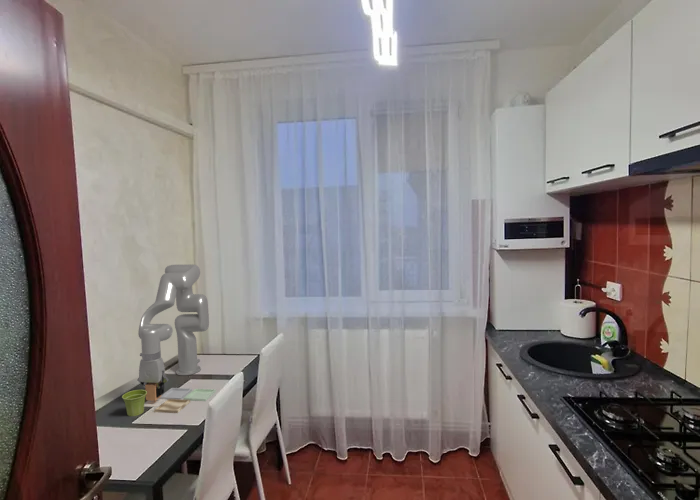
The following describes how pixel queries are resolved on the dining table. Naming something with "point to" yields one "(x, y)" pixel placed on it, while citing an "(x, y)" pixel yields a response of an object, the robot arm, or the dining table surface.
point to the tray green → (200, 394)
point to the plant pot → (134, 402)
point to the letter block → (151, 391)
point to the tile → (154, 403)
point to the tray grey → (176, 393)
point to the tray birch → (172, 406)
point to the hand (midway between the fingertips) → (153, 395)
